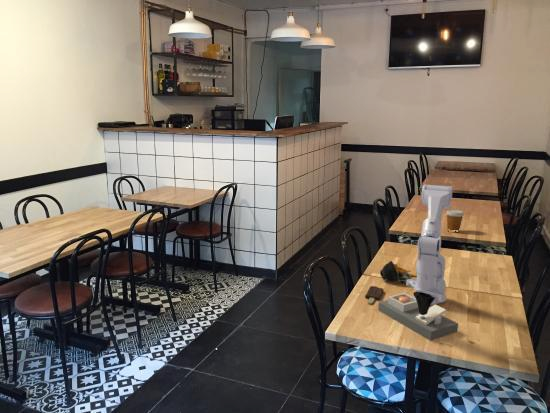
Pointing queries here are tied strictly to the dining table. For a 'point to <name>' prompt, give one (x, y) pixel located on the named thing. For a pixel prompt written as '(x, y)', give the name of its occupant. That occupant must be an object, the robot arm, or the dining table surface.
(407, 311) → the grey board with tray
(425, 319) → the rocker switch
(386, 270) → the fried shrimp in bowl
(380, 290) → the ice cream bar
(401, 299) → the button
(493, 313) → the dining table surface
